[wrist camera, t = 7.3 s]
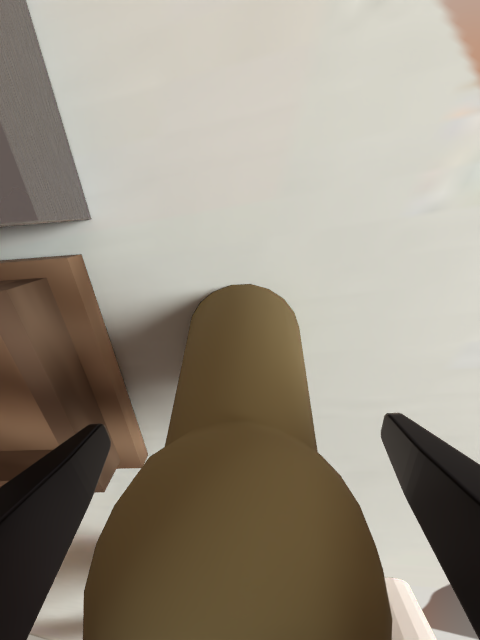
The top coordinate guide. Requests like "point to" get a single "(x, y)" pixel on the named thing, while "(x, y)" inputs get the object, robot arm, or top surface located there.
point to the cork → (238, 503)
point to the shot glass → (406, 613)
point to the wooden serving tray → (58, 368)
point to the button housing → (32, 132)
